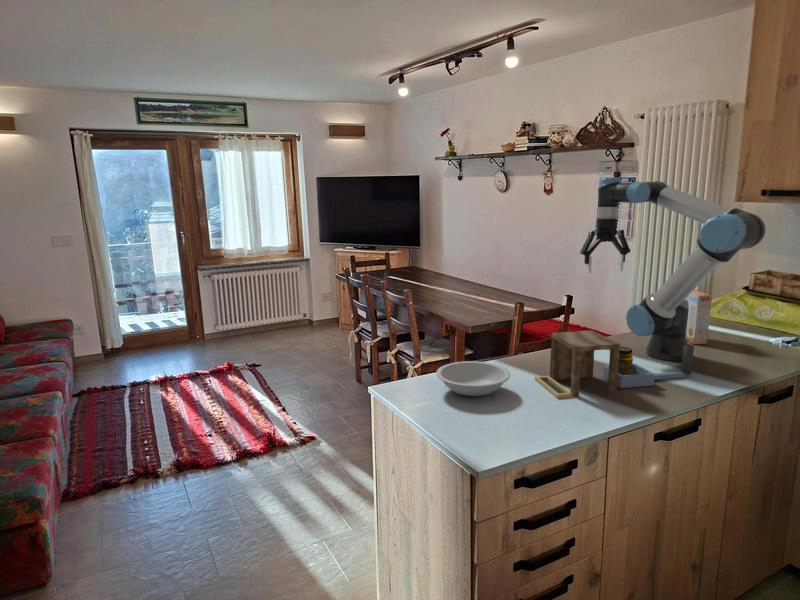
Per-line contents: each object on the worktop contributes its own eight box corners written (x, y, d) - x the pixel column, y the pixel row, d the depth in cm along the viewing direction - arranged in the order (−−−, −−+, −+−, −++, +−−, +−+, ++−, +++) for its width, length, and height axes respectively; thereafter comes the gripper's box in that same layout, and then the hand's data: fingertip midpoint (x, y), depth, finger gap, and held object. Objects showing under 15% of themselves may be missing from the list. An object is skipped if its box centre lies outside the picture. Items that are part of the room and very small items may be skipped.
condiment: (636, 383, 182) (639, 349, 180) (622, 388, 177) (624, 353, 175) (617, 377, 188) (619, 344, 186) (602, 382, 183) (604, 348, 181)
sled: (679, 370, 192) (682, 340, 190) (701, 381, 181) (704, 349, 179) (602, 376, 187) (604, 346, 185) (620, 388, 177) (622, 356, 174)
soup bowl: (455, 374, 193) (455, 357, 192) (520, 386, 181) (520, 367, 180) (423, 397, 173) (423, 378, 172) (494, 411, 161) (494, 391, 160)
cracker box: (708, 344, 222) (713, 295, 218) (693, 345, 222) (698, 295, 218) (690, 335, 236) (694, 288, 232) (676, 335, 236) (680, 289, 232)
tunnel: (589, 375, 190) (592, 330, 186) (616, 393, 173) (619, 343, 170) (549, 378, 187) (551, 333, 184) (573, 397, 171) (575, 347, 168)
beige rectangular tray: (548, 378, 187) (548, 375, 187) (571, 397, 171) (571, 393, 171) (534, 380, 186) (534, 376, 186) (556, 398, 170) (557, 394, 170)
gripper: (630, 216, 216) (627, 268, 221) (572, 218, 212) (570, 271, 217) (642, 217, 209) (638, 271, 213) (582, 219, 205) (579, 274, 209)
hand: (604, 271), depth 215 cm, fingers open, 13 cm apart
